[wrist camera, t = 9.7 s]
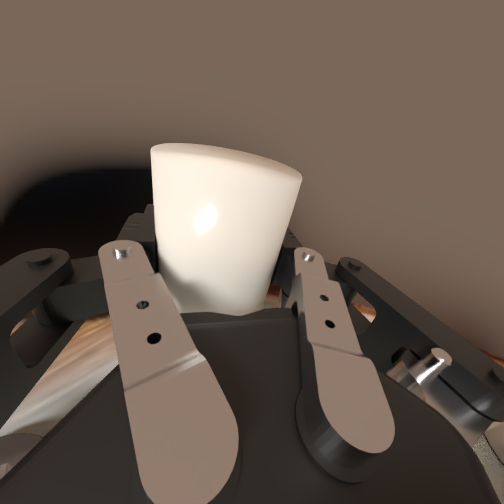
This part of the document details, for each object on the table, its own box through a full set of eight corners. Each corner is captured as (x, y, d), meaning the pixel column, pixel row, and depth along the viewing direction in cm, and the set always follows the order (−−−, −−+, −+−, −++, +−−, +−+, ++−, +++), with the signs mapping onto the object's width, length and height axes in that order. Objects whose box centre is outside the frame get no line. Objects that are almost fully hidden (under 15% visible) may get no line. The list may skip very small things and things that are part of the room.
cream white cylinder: (235, 281, 16) (260, 151, 11) (279, 351, 12) (351, 192, 7) (146, 299, 13) (129, 133, 8) (164, 400, 9) (150, 186, 4)
